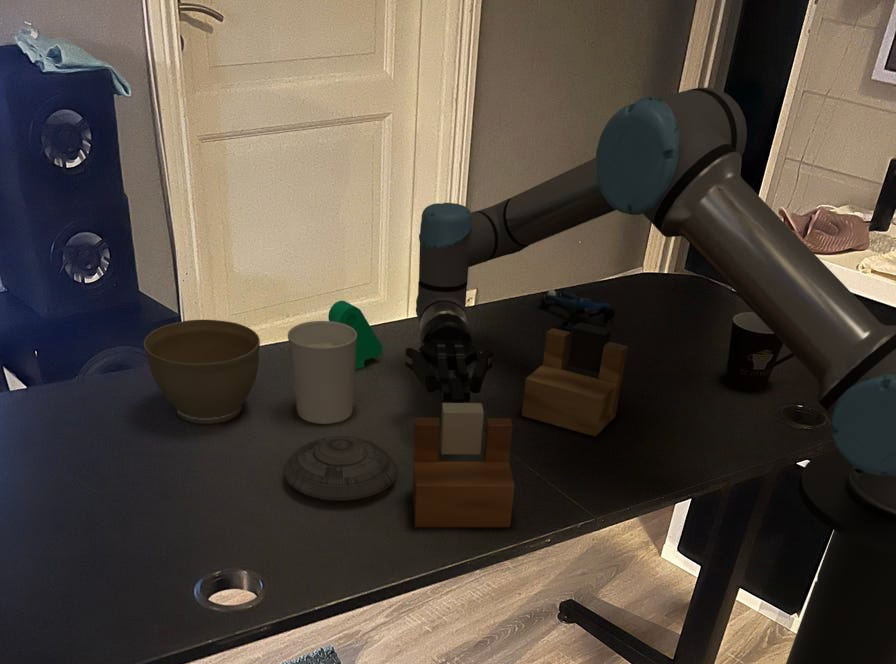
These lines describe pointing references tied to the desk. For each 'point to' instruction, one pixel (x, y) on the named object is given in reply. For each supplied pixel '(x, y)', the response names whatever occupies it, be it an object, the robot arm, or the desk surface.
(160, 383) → the planter bowl
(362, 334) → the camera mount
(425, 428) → the near stand
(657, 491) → the desk surface
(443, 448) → the ivory key
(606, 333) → the black block
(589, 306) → the person figurine
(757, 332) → the coffee mug
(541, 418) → the far stand
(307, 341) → the white tumbler cup
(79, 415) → the desk surface
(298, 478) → the flying saucer
